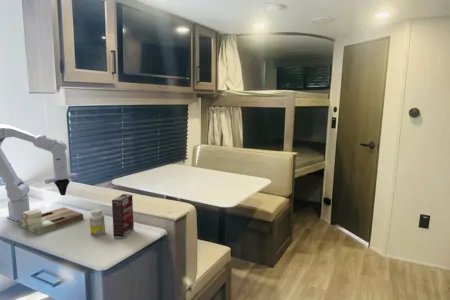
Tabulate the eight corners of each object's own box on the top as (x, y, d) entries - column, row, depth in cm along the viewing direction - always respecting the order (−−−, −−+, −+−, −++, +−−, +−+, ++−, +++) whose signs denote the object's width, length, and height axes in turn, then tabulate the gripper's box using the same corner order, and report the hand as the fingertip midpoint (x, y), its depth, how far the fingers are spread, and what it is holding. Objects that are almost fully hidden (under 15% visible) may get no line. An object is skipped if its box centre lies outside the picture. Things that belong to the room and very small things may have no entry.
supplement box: (124, 239, 124) (122, 200, 122) (113, 238, 125) (110, 200, 123) (134, 230, 133) (132, 194, 130) (124, 229, 134) (122, 193, 131)
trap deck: (19, 225, 137) (19, 220, 137) (64, 212, 154) (63, 207, 153) (38, 234, 129) (37, 228, 128) (83, 219, 145) (82, 213, 144)
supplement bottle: (97, 230, 133) (96, 207, 131) (108, 232, 131) (106, 209, 129) (87, 235, 127) (85, 211, 126) (98, 238, 125) (96, 213, 124)
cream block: (24, 223, 133) (22, 212, 133) (36, 219, 138) (35, 208, 137) (29, 226, 131) (28, 214, 130) (42, 222, 135) (41, 211, 134)
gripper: (49, 171, 140) (52, 200, 142) (79, 165, 152) (81, 192, 154) (41, 169, 144) (44, 197, 146) (71, 163, 156) (73, 190, 158)
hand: (62, 194), depth 150 cm, fingers closed
